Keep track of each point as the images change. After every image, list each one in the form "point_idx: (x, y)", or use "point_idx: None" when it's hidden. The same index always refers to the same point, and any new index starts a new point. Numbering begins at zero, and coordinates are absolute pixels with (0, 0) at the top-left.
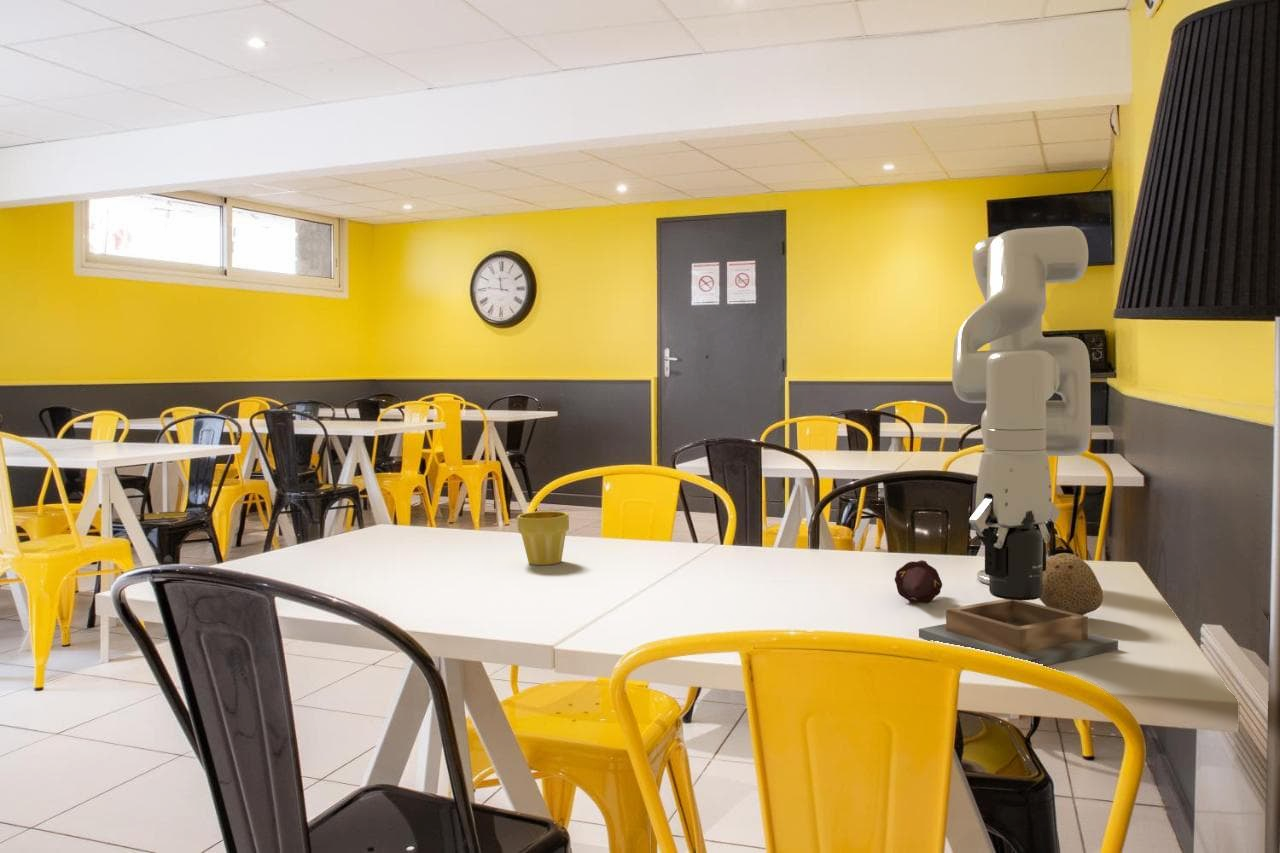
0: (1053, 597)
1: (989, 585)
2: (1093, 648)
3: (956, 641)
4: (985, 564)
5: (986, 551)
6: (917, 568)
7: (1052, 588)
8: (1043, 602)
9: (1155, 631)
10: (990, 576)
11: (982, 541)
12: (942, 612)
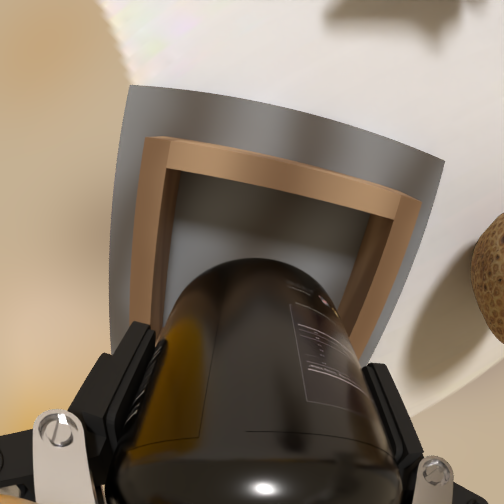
0: (478, 271)
1: (192, 285)
2: None
3: (112, 209)
4: (121, 344)
5: (73, 405)
6: None
7: (486, 283)
8: (490, 226)
9: (470, 364)
10: (171, 317)
11: (28, 432)
12: (385, 5)
